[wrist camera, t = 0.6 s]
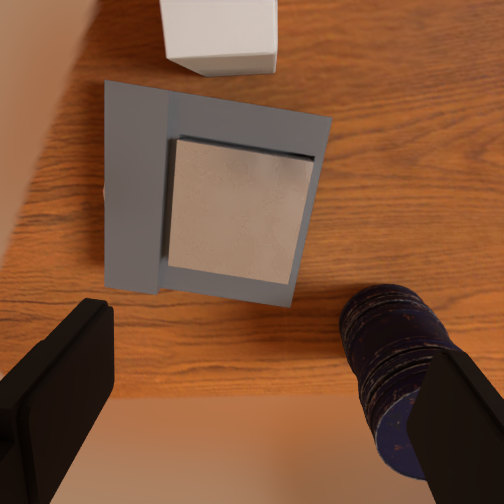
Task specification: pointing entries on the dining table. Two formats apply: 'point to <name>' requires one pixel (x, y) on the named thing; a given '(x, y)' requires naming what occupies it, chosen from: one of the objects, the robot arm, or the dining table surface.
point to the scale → (162, 182)
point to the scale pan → (237, 209)
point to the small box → (221, 35)
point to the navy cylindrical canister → (391, 363)
